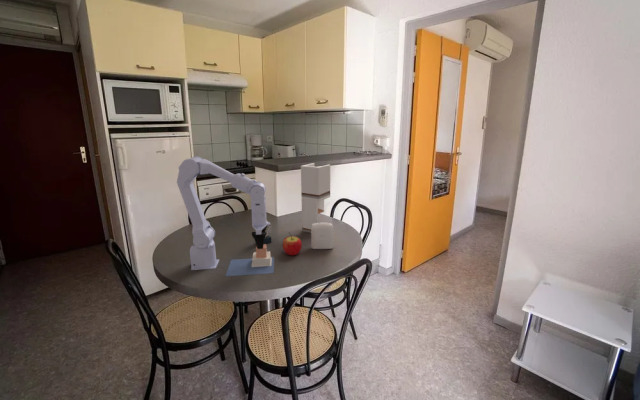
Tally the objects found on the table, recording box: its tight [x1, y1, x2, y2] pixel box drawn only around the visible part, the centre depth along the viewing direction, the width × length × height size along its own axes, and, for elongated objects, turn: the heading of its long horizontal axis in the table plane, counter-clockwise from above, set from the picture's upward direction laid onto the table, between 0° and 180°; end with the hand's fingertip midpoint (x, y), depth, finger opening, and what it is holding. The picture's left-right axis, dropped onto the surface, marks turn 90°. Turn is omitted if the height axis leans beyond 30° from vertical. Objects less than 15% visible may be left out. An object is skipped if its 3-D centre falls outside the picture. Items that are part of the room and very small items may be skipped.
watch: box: [254, 220, 273, 245], centre depth 145 cm, size 6×8×11 cm
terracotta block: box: [255, 244, 268, 258], centre depth 124 cm, size 4×4×4 cm
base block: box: [251, 250, 272, 266], centre depth 125 cm, size 7×7×3 cm
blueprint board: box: [225, 256, 275, 277], centre depth 122 cm, size 18×14×1 cm
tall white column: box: [300, 162, 331, 234], centre depth 159 cm, size 11×11×35 cm
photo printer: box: [310, 221, 335, 250], centre depth 138 cm, size 10×4×12 cm, turn 89°
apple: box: [282, 232, 303, 256], centre depth 132 cm, size 8×8×10 cm
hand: (260, 244), depth 123 cm, fingers open, 7 cm apart
